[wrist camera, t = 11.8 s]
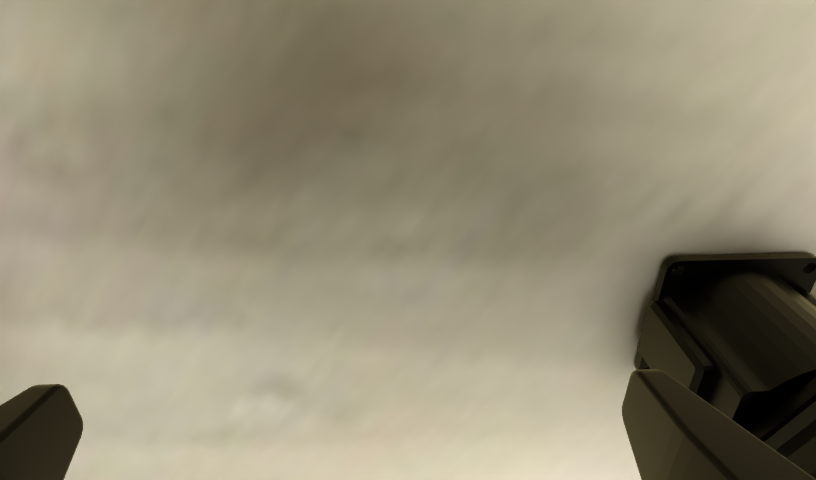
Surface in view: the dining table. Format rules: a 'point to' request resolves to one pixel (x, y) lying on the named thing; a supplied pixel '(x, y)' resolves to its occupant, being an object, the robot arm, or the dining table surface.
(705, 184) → the dining table surface
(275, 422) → the dining table surface
